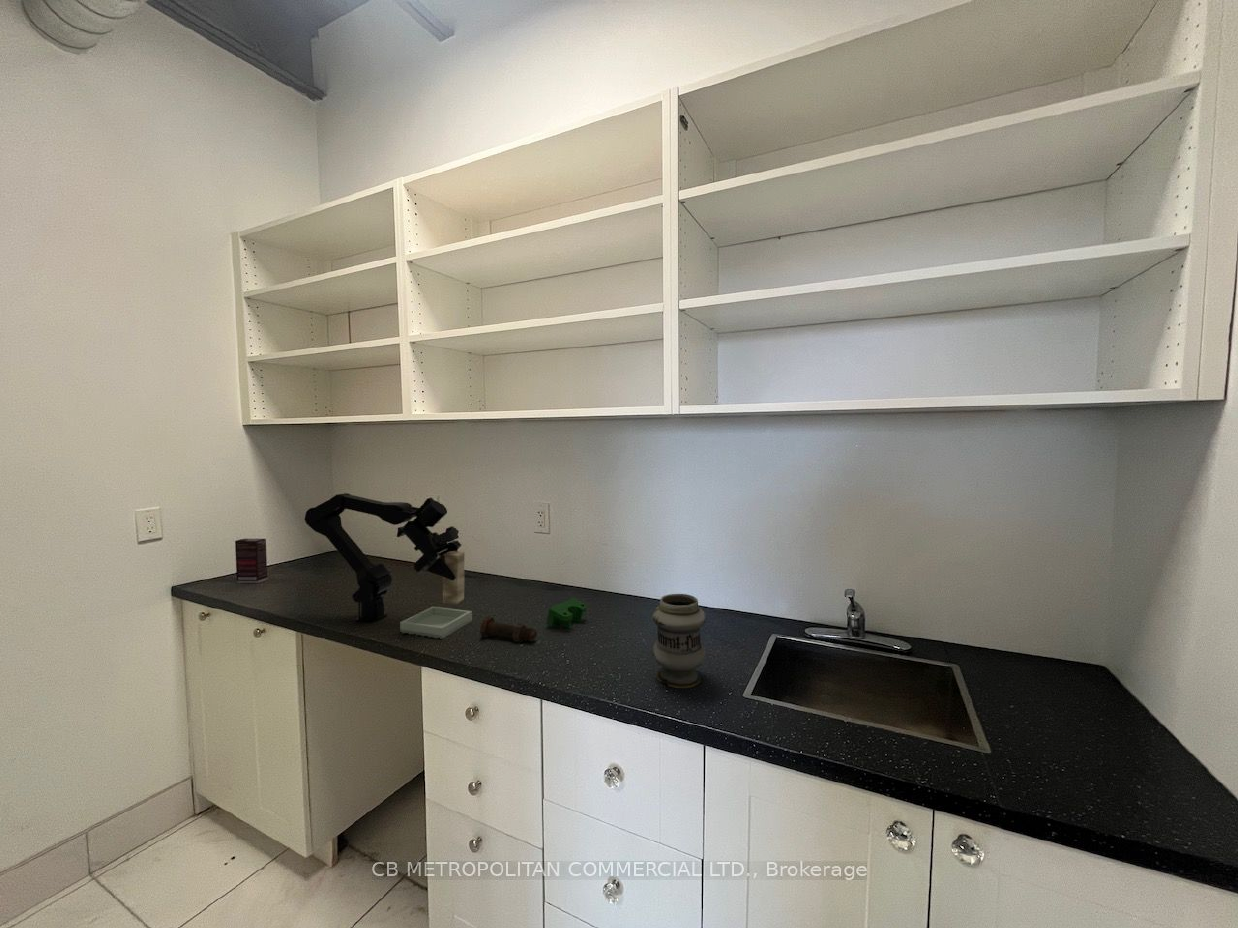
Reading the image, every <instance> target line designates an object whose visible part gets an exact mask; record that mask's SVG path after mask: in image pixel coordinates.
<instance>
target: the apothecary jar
mask: <svg viewBox="0 0 1238 928" xmlns="http://www.w3.org/2000/svg"><path fill="white" fill-rule="evenodd" d="M659 600H660V601H659V604H658V606H657V607H656V608H655V609H653V612H652V619H653V620H652V621H653V623H654V624H655V625H656V626H657V641H656V642H655V643H654V645H653V647H652V651H651V653H652V654H651V655H652V657H653V659H654V661H655V663H657V664H658V665H659V666H660V667H661V668H660V669H659V670H658V671H657V672H656V678H657V680H658V681H659V683H661V684H665V685H667V687H670V688H675V689H690V688H693V687H696V686H698V684H700V682H702V681H701V680H702V677H701V674H700V673H699V672H698V671H697V670H696V669H698V668H699V667H700V666H702V665H703V664H704V663H705V661H706V659H707V650H706V648H705V646H704V645H703V644H702V642H701V628H702V627H703V626H704V625H705V623H706V619H707V618H706V617H707V616H706V613H705V612H704V610H703V609H702V608H701V607H700V606H699V600H698V598H697V597H695V596H693V595H690V594H686V593H670V594H666V595H663V596H661V598H660V599H659Z"/></svg>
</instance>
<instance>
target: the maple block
mask: <svg viewBox="0 0 1238 928" xmlns="http://www.w3.org/2000/svg"><path fill="white" fill-rule="evenodd" d="M443 555H445V563H446V565H447V566H448V567H449V569H450V570H451V571H452V573H453V574H454V576H455V577H456V578H455V579H454V580H453V581H452V580H450V579H447V578H445V577H442V603H443V604H454V605H457V604H459V603H461V602H462V601H464V599H465V551H457V552H456V551H450V552H447V553H445V554H443Z"/></svg>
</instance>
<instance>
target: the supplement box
mask: <svg viewBox="0 0 1238 928" xmlns="http://www.w3.org/2000/svg"><path fill="white" fill-rule="evenodd" d="M234 544H235V545H234V546H235V548H234V549H235V572H236V583H237V584H239V583H240V584H259V583H262V582H265V581H267V580H268V565H267V563H268V561H267V560H268V559H267V538H241V539H237V540H235V541H234Z"/></svg>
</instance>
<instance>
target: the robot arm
mask: <svg viewBox="0 0 1238 928" xmlns="http://www.w3.org/2000/svg"><path fill="white" fill-rule="evenodd" d="M345 510H349V511H355V512H359V513H362V514H366V515H371V516H376V517H378V518H380V519H381V520H382V521H384V522H385V523H388V524H389V525H393V526H395V525H396V526H397V525H400V524H404V523H405V524H404V525H403V526H399V527H397V533H396V537H397V538H400V537H403V536H406V537H407V539H408V540H410V542H411V543H412V544H413V545H414V548H413V549H414V551H415V552H416V551H419V552H421V556H420V557H419V558H418V559H417V560H416V561H415V562H414V563H413V570H414V571H416V573H417V574H420V573H422V572H424V571H425V572H426V573H431V574H434V575H438V576H440V577H442V578H443V577H445V578H447V579H450V580H452V581H453V580H454V579H455V578H456V577H455V576H454V574H453V573H452V571H451V570H450V569H449V567H448V566H447V565H446V563H445V555H443V554H445V553H447V552H450V551H456V552H459V551H458V550H459V549H460V548H461V547H462V543H461V542H459V540H457V539H459V538H460V537H459V532H460V531H459V530H458V529H457V527H454V526H453V525H451V526H449V527H446V528H445V531H444V532H442V533H440V534H439V533H438V532H436V531H435V532H432V530H430V529H429V528H434V526H436V525H437V524H438V523H439V522H440V521H441V520H442V519H443V518H444V517H445V516H446V515H447V514H448V509H447V508H446V506H445V505H444V504H442V503H440V502H439V501H437V500H435V499H434V498H433V497H428V498H427V499H426V500H424V502H423V503H422V505H421V506H419V507H417V506H413V504H411V503H409V502H401V501H397V502H396V501H394V502H392V501H391V502H390V501H389V502H384V501H380V500H375V499H371V498H367V497H362V496H357V495H352V494H350V493H347V492H344V493H338V494H337V493H336V494H335V495H334V496H332V497H330V498H329V499H328V500H326V501H324V502H322V503H320V504H318V505H316V506H315V507H310V508H308V509H307V510H306V512H305V513H304V514H305V515H304V522H305V524H306V525H307V526H308V527H309V528H310V529H312V530H313V532H315V533H317V534H318V533H319V534H320V535H322V536H324V537H326V539H328V541H329V542H330V543H331V545H332V546H333V547H334V549H335V550H337V552H338V553H339V554H340V555H341V557H342V558H343V560H344V561H345V562H346V563H347V564H348V566H349V567H350V568H351V569H352V571H353V572H354V573H355V575H356V583H357V586H358V587H359V588H358V589H357V590H356V591H355V592H354V593H353V594H352V595H351V596H352V599H353V601H354V602H353V603H358V605H357V607H358V616H357V617H356V618H354V619H353V621H355V622H356V621H357V622H363V623H369V624H370V623H371V624H372V623H374V621H375V622H376V621H379V620H382V619H383V618H385V617H387V616H388V613H385V602H384V595H387V592H388V590H389V589H390V587H391V585H392V580H393V579H392V576H391V572H390V571H388V570H387V568H386V567H385V565H384V564H383V563H379V564H374V563H373V562H371V561H370V559H369V558H368V557H367V555H366V554H365V553H364V552H363V551H362V549H361V548H360V547H359V546H358V545H357V543H356V542H355V540H353V538H352V537H351V536H350V535H349V534H348V533H347V531H346V530H345V528H344V527H343V525H342V518H341V516H340V515H341V514H343V513H345ZM412 519H413V520H412ZM426 567H427V569H426V570H425V568H426Z"/></svg>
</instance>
